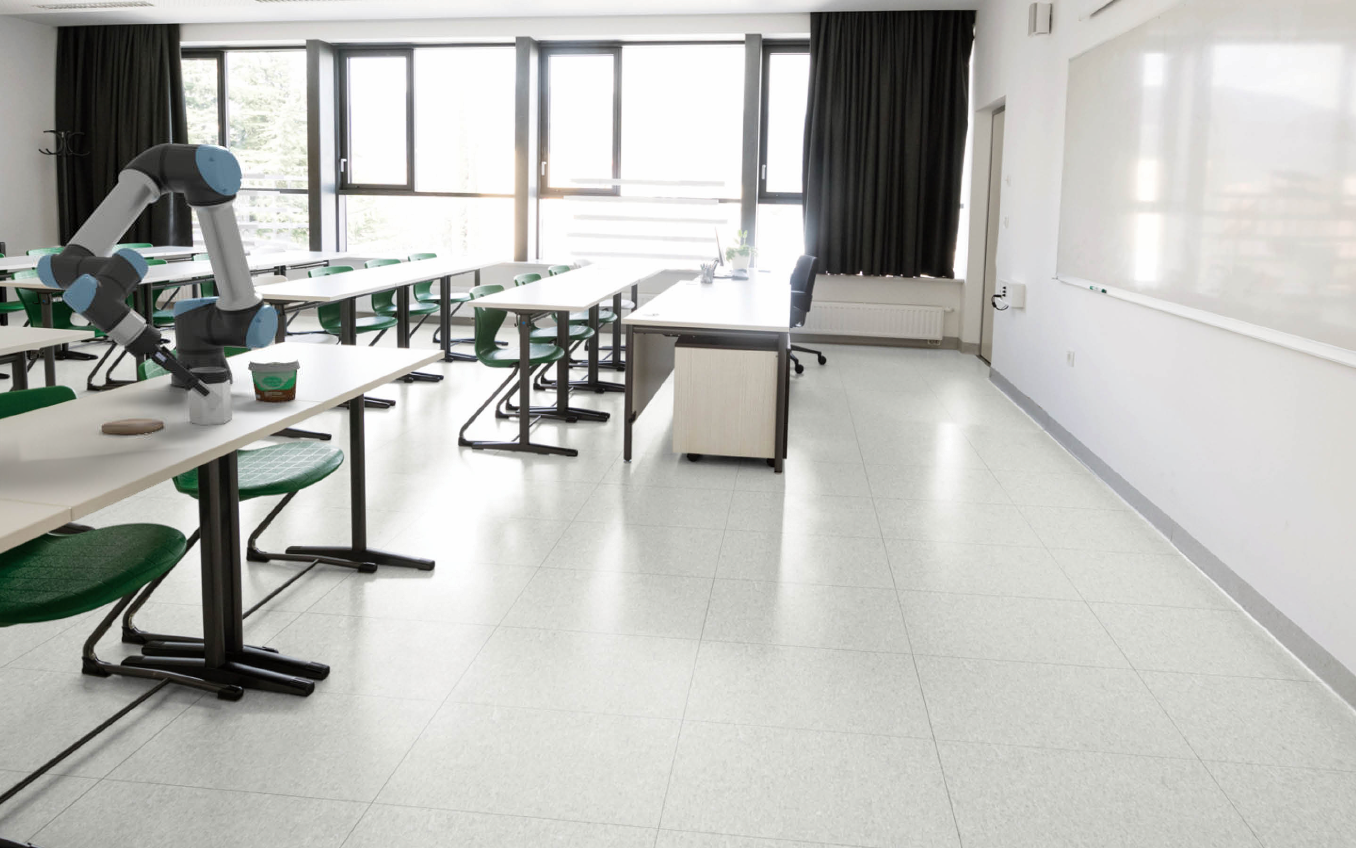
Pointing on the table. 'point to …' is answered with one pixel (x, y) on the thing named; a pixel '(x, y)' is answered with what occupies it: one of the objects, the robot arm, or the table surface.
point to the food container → (274, 381)
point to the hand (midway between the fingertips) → (214, 397)
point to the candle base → (132, 426)
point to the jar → (202, 409)
